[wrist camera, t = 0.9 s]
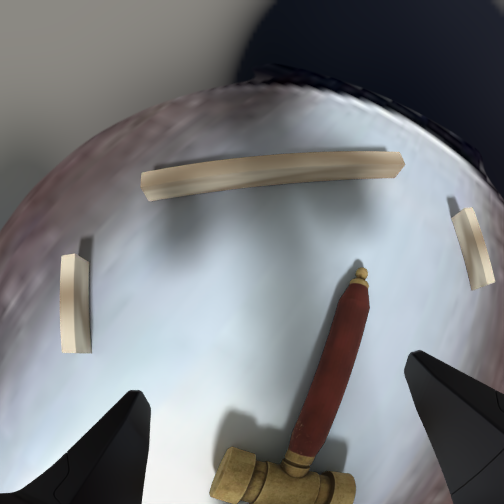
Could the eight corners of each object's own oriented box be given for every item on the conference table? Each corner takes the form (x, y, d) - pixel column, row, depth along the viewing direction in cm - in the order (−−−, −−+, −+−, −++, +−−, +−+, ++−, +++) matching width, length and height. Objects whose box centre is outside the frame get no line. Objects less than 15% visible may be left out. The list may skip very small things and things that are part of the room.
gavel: (313, 234, 20) (426, 279, 19) (301, 257, 24) (399, 294, 23) (205, 505, 12) (338, 530, 11) (211, 481, 17) (322, 507, 16)
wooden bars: (479, 287, 22) (495, 282, 19) (78, 352, 19) (61, 352, 17) (438, 167, 26) (449, 155, 24) (82, 201, 24) (70, 189, 22)
